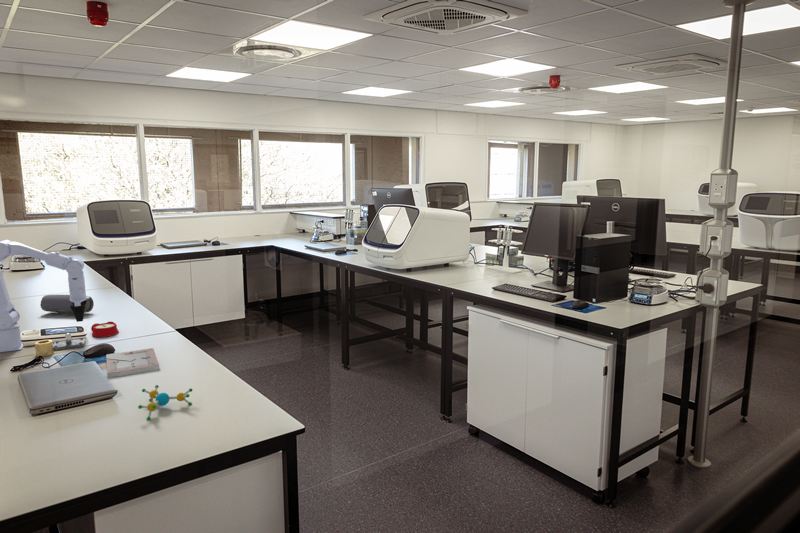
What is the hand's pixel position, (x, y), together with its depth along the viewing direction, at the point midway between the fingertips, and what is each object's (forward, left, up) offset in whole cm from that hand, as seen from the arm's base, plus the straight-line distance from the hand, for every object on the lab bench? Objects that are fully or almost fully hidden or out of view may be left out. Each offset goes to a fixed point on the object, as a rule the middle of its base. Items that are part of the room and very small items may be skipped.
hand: (80, 319), depth 216 cm
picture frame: (+18, -39, -11) cm, 45 cm away
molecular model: (+25, -84, -10) cm, 88 cm away
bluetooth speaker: (-9, +56, -10) cm, 57 cm away
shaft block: (-5, -4, -10) cm, 12 cm away
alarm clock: (+8, +10, -10) cm, 16 cm away
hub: (-12, -11, -10) cm, 19 cm away
